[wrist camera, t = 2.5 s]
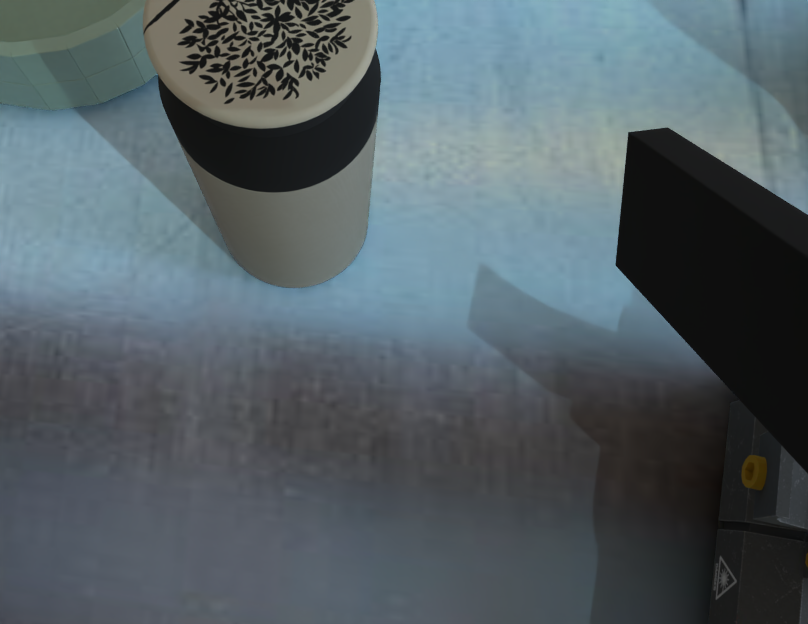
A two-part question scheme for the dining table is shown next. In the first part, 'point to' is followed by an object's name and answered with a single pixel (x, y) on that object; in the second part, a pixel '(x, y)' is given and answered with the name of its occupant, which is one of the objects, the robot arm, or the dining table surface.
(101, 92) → the bowl
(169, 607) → the dining table surface
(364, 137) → the travel mug
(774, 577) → the laser sight
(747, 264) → the robot arm
